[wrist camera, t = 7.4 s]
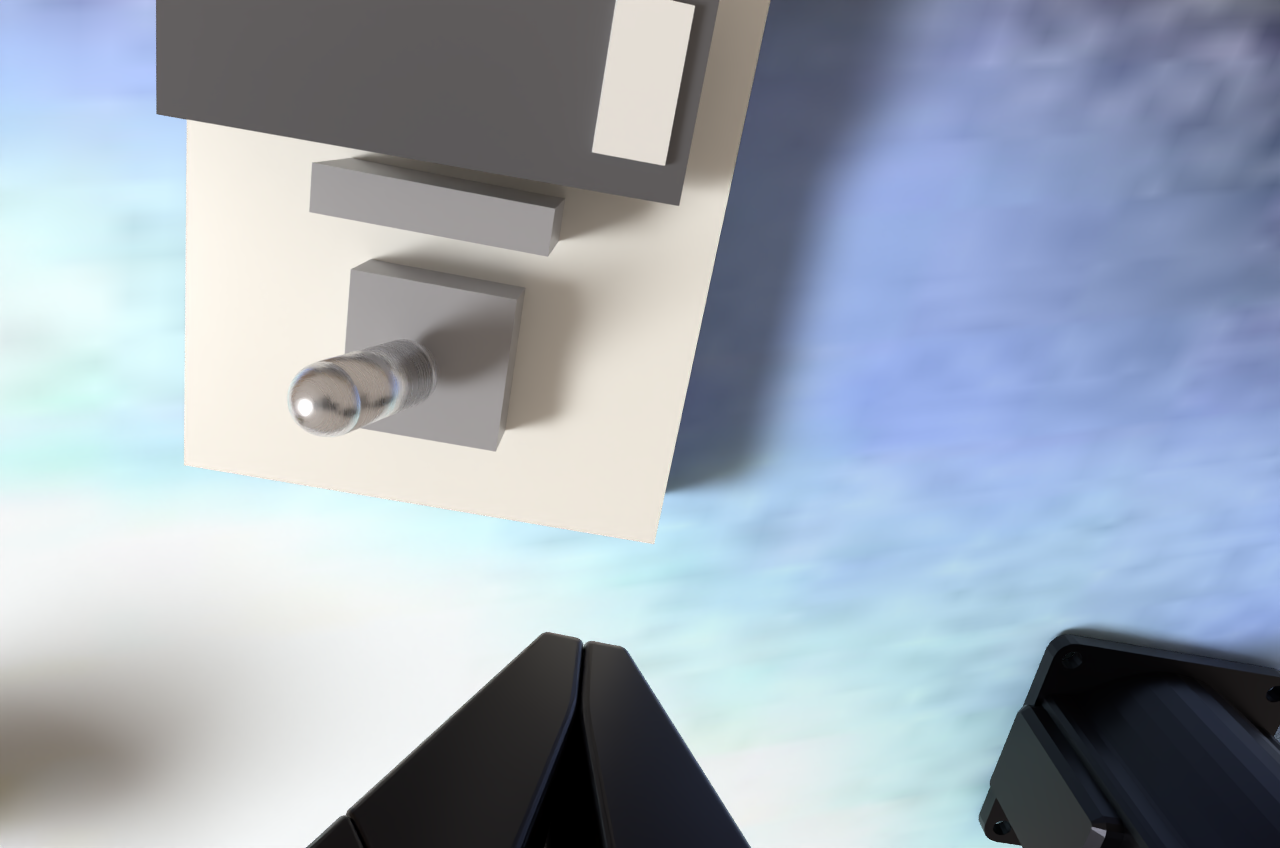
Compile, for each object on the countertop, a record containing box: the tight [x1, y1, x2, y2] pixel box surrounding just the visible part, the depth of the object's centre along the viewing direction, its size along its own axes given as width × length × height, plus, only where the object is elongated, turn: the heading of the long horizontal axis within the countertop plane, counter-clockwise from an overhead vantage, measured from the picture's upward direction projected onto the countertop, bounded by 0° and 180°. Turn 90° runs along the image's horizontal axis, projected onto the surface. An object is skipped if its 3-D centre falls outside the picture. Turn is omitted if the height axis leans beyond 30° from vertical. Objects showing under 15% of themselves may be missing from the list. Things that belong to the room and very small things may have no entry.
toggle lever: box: [287, 339, 439, 437], centre depth 14 cm, size 1×1×3 cm
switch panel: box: [184, 0, 770, 544], centre depth 15 cm, size 10×18×4 cm, turn 169°
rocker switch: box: [156, 0, 719, 206], centre depth 13 cm, size 8×4×1 cm, turn 79°
